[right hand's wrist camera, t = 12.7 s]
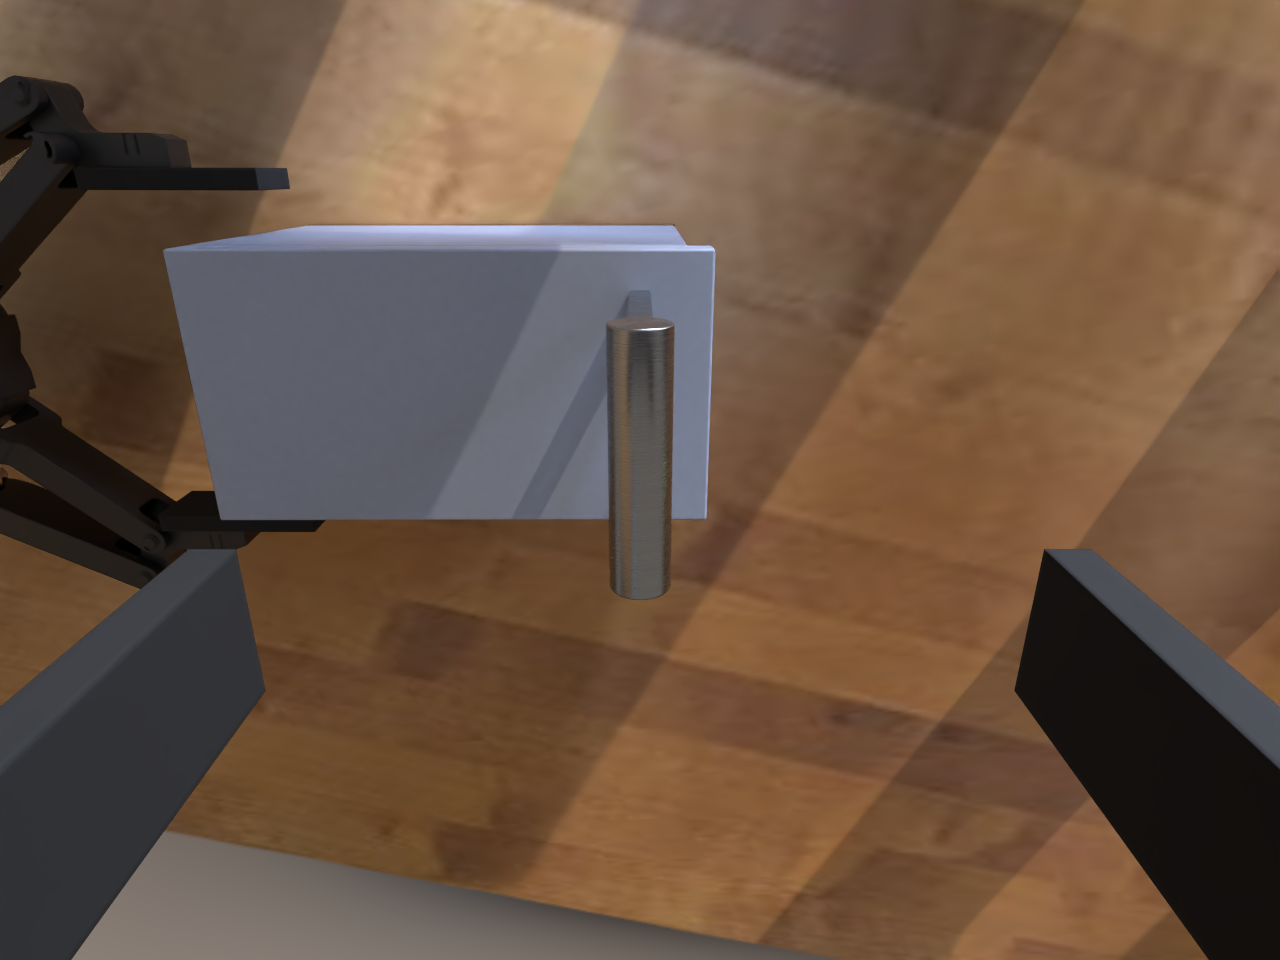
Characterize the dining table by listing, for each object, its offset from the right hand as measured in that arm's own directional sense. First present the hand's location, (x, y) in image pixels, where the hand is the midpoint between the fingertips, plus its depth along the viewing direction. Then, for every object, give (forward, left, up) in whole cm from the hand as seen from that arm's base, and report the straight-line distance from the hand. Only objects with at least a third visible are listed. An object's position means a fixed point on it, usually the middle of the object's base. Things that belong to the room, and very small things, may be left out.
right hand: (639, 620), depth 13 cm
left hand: (+7, -12, -20) cm, 24 cm away
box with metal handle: (+3, -5, -15) cm, 17 cm away
